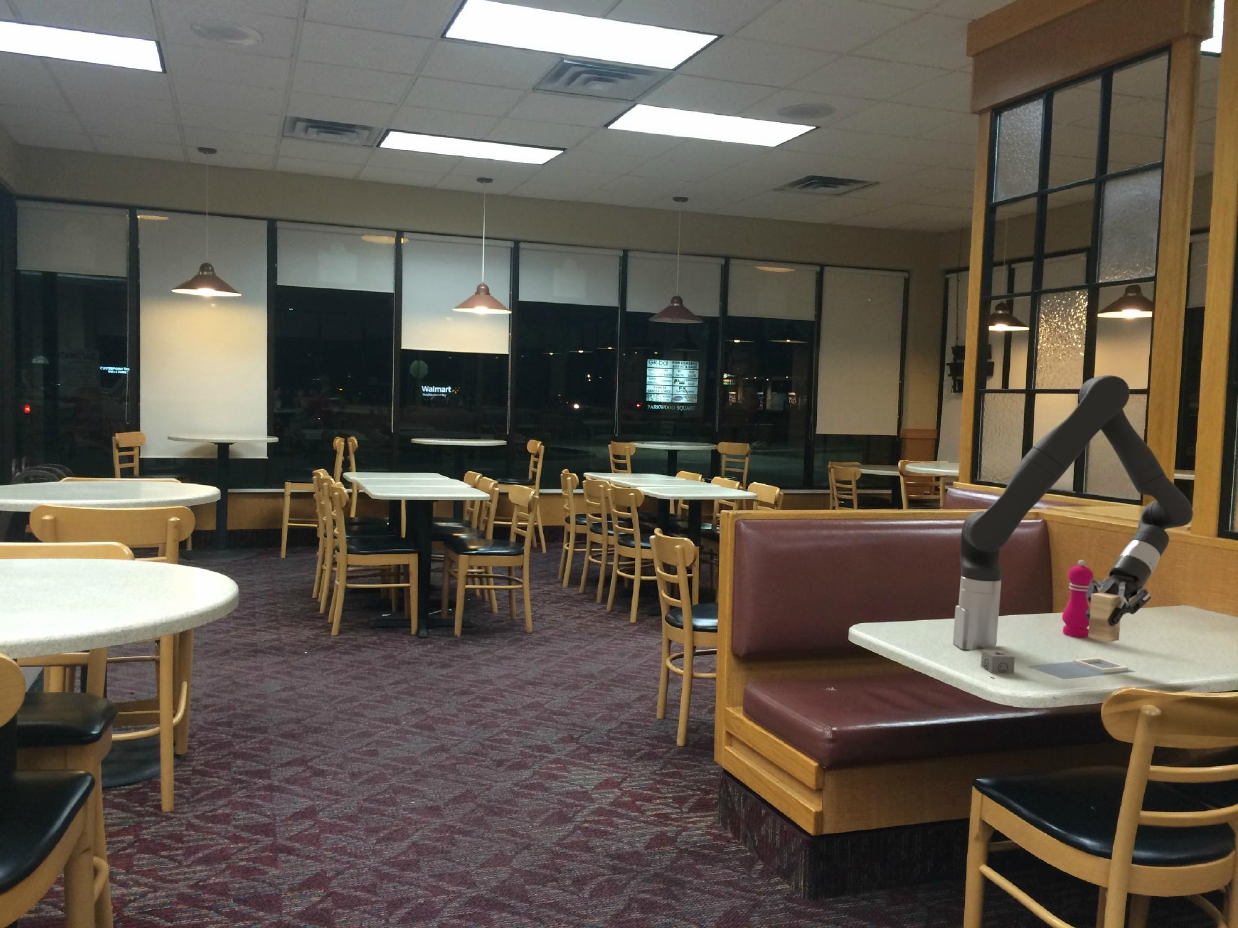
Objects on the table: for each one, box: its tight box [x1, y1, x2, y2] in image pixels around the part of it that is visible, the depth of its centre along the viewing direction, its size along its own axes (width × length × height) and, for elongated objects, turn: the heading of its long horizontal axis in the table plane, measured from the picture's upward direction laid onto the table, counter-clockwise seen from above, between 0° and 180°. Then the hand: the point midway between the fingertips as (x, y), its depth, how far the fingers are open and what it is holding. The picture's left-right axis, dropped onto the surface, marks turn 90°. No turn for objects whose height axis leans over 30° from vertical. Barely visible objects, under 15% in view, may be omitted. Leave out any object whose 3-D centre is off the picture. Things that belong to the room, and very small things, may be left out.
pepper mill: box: [1061, 559, 1094, 638], centre depth 253 cm, size 7×7×20 cm
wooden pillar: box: [1087, 593, 1121, 643], centre depth 216 cm, size 4×4×10 cm
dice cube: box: [980, 649, 1016, 679], centre depth 210 cm, size 5×5×5 cm
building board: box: [1027, 657, 1136, 680], centre depth 215 cm, size 22×10×2 cm, turn 114°
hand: (1099, 620), depth 215 cm, fingers closed on wooden pillar, 4 cm apart
